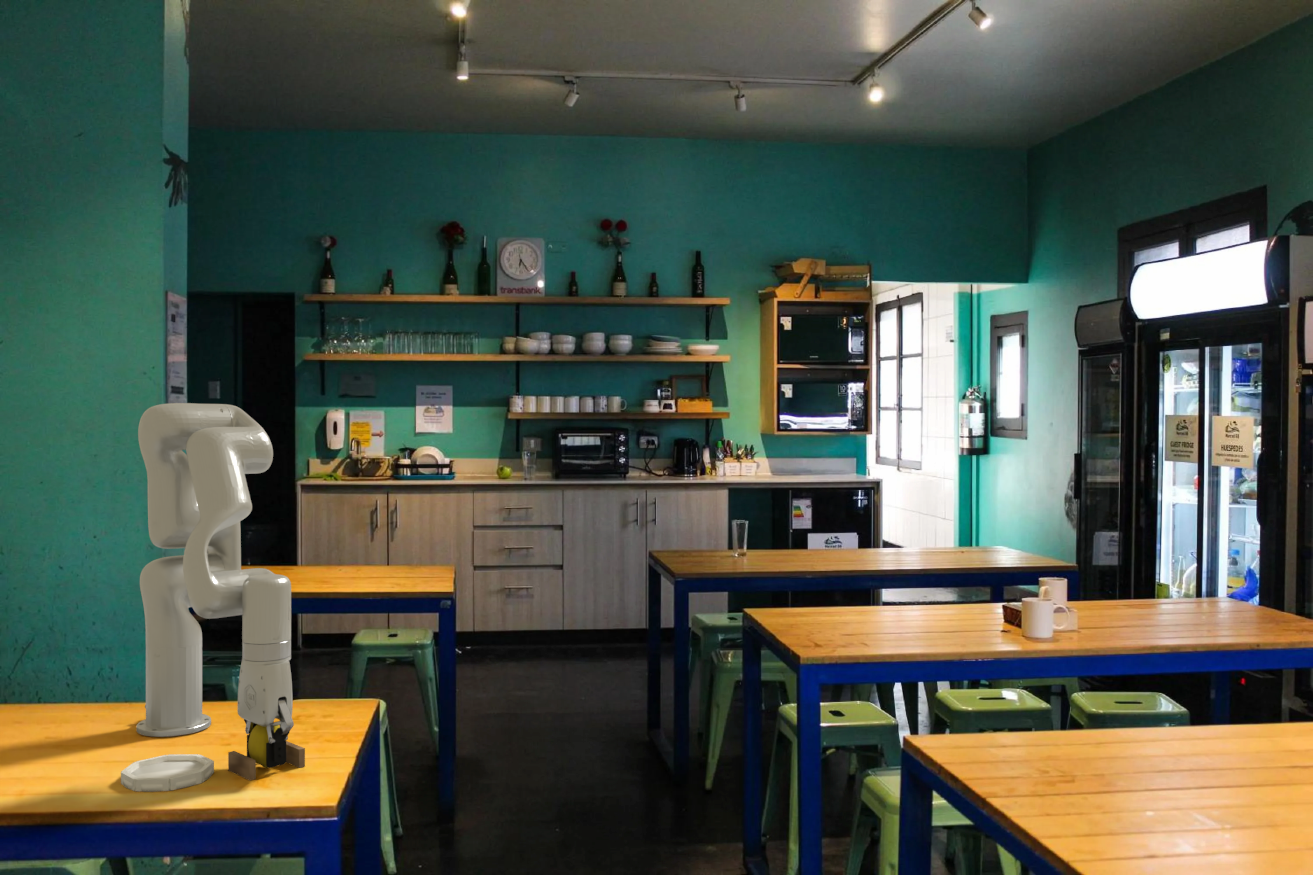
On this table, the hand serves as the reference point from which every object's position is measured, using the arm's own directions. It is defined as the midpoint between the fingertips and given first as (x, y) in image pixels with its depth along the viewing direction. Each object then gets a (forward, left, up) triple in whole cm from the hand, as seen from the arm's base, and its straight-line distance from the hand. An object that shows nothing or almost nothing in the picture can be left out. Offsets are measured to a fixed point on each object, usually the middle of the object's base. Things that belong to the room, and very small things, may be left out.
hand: (266, 760), depth 179 cm
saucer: (-7, -13, -1) cm, 15 cm away
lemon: (0, 0, -1) cm, 1 cm away
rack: (0, 0, -1) cm, 1 cm away
